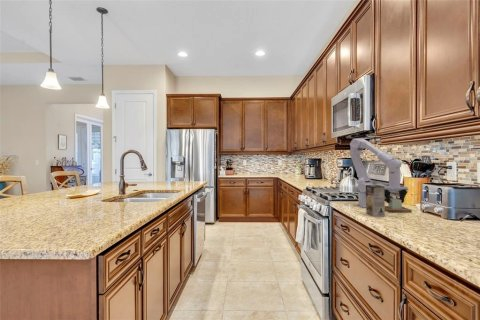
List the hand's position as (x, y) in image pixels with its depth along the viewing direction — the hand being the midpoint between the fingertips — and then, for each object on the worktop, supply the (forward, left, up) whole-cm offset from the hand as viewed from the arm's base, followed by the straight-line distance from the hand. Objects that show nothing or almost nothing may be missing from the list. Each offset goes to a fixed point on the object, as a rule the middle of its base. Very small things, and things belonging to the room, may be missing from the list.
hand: (394, 202), depth 153 cm
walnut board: (0, 0, -4) cm, 4 cm away
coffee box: (+11, -16, -5) cm, 20 cm away
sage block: (0, 0, -3) cm, 3 cm away
